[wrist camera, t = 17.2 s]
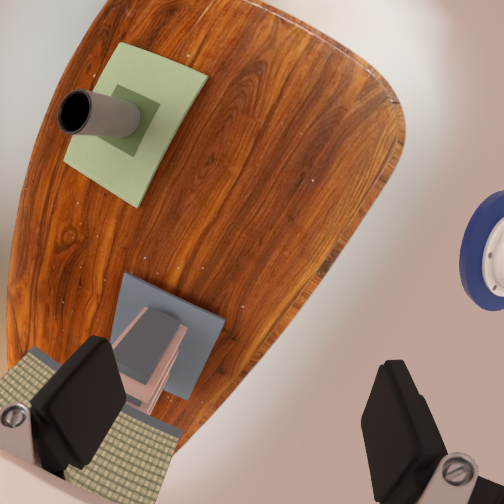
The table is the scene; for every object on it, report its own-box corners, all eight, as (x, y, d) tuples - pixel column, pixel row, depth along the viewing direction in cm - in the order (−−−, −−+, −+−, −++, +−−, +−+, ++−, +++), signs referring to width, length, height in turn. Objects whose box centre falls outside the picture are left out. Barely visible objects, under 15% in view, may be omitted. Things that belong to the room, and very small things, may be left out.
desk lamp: (190, 392, 44) (121, 572, 13) (113, 355, 43) (5, 505, 12) (231, 306, 38) (136, 572, 7) (134, 260, 38) (-60, 434, 7)
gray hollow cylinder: (124, 144, 32) (72, 144, 23) (104, 122, 32) (50, 117, 22) (147, 116, 31) (99, 105, 21) (126, 95, 30) (75, 80, 21)
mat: (122, 42, 29) (119, 41, 28) (209, 77, 30) (207, 75, 29) (65, 160, 34) (62, 161, 34) (139, 207, 35) (136, 208, 35)
